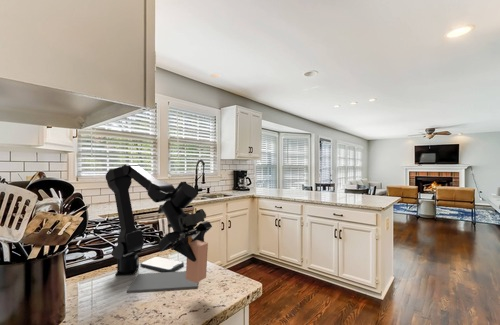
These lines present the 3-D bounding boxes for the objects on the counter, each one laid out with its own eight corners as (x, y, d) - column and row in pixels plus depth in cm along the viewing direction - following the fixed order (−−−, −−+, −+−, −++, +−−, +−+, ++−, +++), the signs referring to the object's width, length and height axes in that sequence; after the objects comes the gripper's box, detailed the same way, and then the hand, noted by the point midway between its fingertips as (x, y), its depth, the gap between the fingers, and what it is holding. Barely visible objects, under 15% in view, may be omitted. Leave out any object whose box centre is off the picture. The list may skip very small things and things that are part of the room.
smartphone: (138, 267, 99) (169, 274, 92) (138, 263, 99) (169, 270, 92) (155, 259, 107) (185, 265, 100) (155, 256, 107) (185, 261, 100)
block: (185, 278, 77) (187, 243, 76) (195, 273, 80) (197, 239, 80) (196, 283, 74) (198, 247, 74) (206, 277, 78) (207, 242, 78)
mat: (126, 292, 79) (126, 290, 79) (138, 275, 91) (138, 273, 91) (197, 288, 82) (197, 286, 82) (199, 272, 94) (199, 270, 94)
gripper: (166, 206, 70) (194, 254, 65) (209, 198, 87) (233, 236, 81) (147, 228, 75) (171, 275, 70) (191, 216, 91) (213, 253, 86)
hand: (200, 258), depth 76 cm, fingers closed on block, 4 cm apart
